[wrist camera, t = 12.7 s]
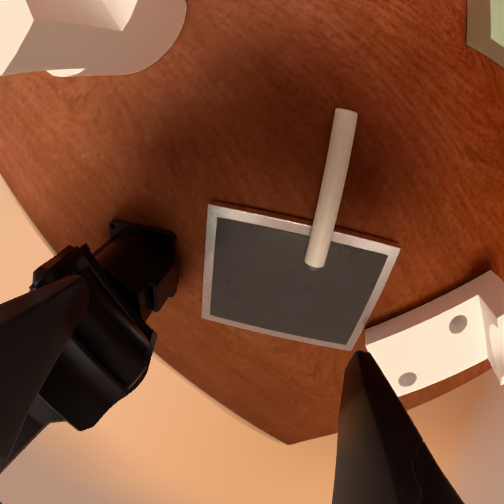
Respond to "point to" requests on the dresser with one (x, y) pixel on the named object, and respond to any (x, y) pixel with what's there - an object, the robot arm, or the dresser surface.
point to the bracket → (442, 336)
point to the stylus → (331, 187)
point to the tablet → (290, 277)
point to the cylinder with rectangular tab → (86, 35)
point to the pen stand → (486, 28)
